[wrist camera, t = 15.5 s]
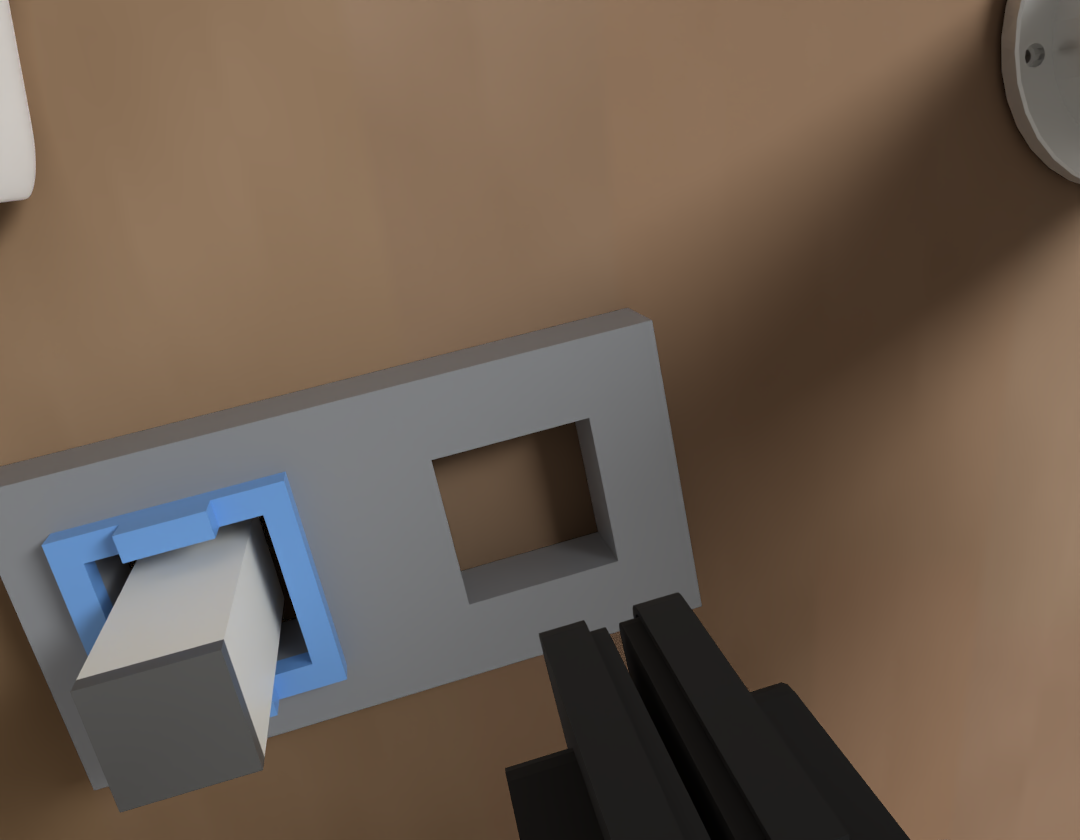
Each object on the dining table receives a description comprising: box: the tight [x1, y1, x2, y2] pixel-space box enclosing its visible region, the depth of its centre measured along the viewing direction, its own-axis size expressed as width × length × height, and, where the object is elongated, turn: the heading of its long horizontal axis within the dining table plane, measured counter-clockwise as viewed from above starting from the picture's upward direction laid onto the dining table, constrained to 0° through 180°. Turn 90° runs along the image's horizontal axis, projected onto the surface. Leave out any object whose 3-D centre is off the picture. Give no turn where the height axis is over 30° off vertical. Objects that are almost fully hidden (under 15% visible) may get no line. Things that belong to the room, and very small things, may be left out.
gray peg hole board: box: [0, 308, 702, 790], centre depth 34 cm, size 24×12×5 cm, turn 102°
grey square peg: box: [70, 516, 285, 812], centre depth 31 cm, size 4×4×11 cm
